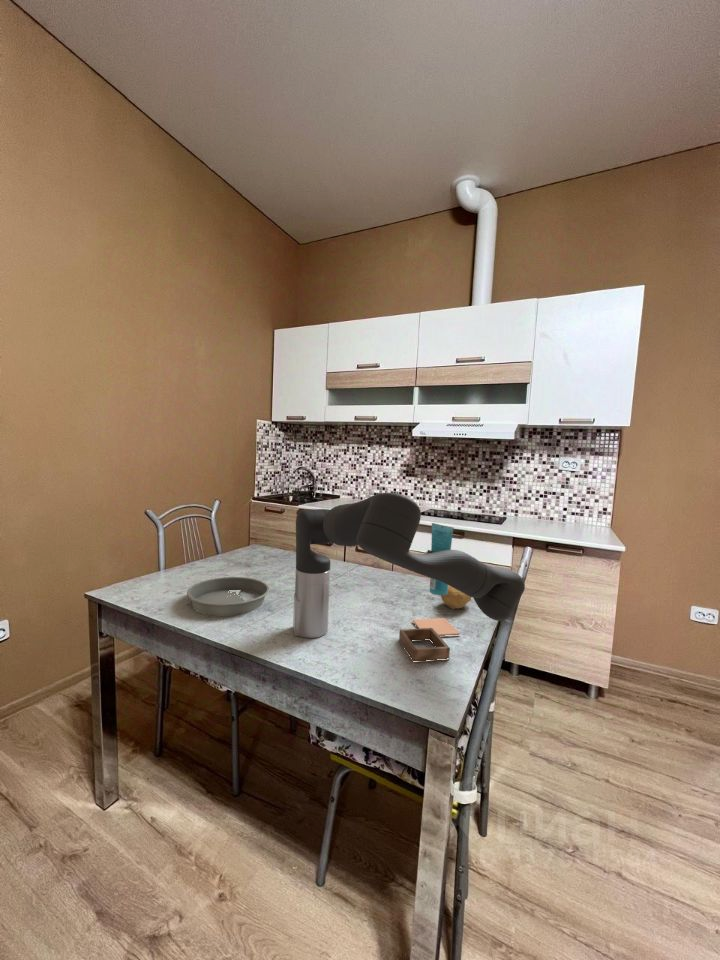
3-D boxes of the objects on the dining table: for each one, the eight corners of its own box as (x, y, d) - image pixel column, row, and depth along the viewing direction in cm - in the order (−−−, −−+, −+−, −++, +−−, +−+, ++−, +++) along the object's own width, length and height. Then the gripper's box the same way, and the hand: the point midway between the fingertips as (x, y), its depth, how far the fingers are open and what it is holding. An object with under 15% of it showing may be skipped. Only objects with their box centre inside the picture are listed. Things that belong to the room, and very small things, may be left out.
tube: (454, 594, 114) (458, 526, 113) (445, 598, 110) (449, 528, 109) (431, 587, 119) (435, 522, 118) (422, 591, 115) (426, 523, 114)
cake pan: (238, 625, 113) (239, 609, 112) (168, 609, 121) (168, 595, 120) (283, 596, 136) (283, 583, 136) (221, 584, 144) (221, 572, 144)
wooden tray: (413, 662, 97) (414, 650, 97) (399, 640, 108) (399, 629, 107) (449, 659, 99) (449, 648, 99) (431, 638, 110) (432, 627, 109)
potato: (433, 610, 129) (434, 585, 129) (446, 597, 142) (448, 574, 141) (463, 617, 125) (465, 592, 124) (474, 603, 137) (476, 580, 136)
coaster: (425, 638, 110) (425, 635, 110) (412, 622, 120) (412, 619, 119) (459, 636, 112) (459, 633, 112) (444, 620, 122) (444, 618, 122)
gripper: (491, 555, 101) (460, 540, 118) (437, 556, 98) (413, 540, 115) (489, 585, 102) (458, 565, 118) (435, 586, 99) (412, 566, 115)
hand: (436, 553), depth 117 cm, fingers closed on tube, 4 cm apart
